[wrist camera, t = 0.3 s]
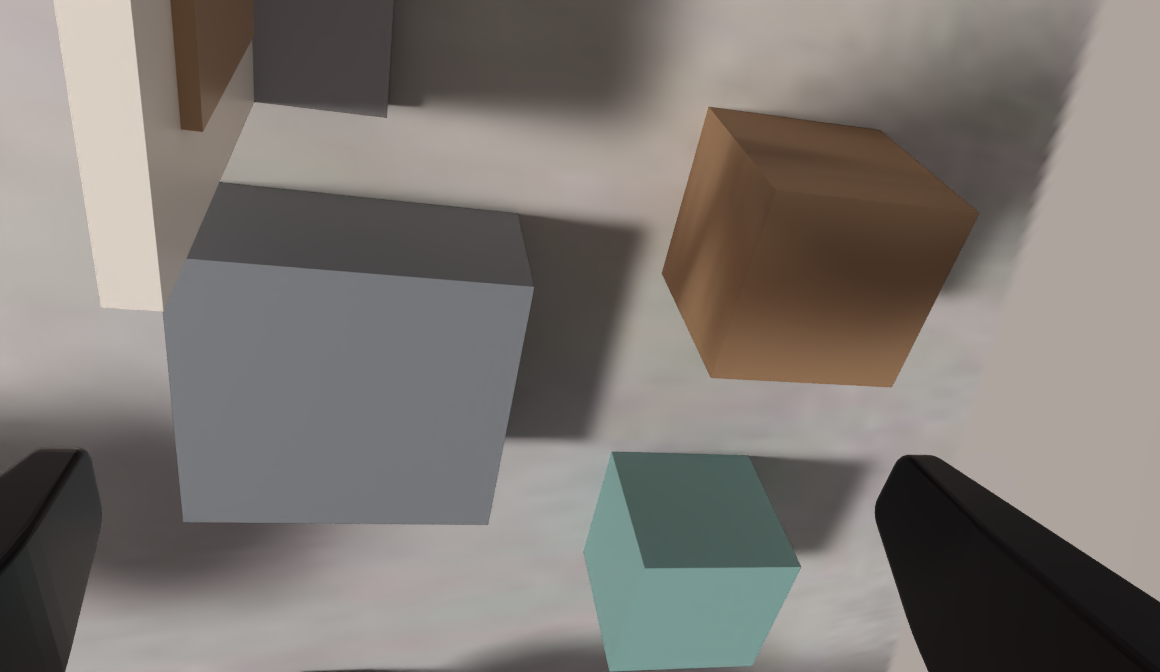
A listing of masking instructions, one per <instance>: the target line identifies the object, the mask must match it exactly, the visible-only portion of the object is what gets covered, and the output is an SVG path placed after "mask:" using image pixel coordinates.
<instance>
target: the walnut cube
mask: <svg viewBox="0 0 1160 672" xmlns="http://www.w3.org/2000/svg"><path fill="white" fill-rule="evenodd" d="M978 215H979V212H978V211H976V210H975V209H974V208H973V207H972V206H970V205H969V204H968V203H967V202H966V201H964V200H963V199H962V198H961V197H960V196H958V195H957V194H956V193H955V192H954V191H952V190H951V189H950V188H949V187H948V186H946V185H945V184H944V183H943V182H942V181H940V180H939V179H938V178H937V177H936V176H934V175H933V174H932V173H931V172H930V171H928V170H927V169H926V168H925V167H924V166H922V165H921V164H920V163H919V162H918V161H916V160H915V159H914V158H913V157H912V156H910V155H909V154H908V153H907V152H906V151H904V150H903V149H902V148H901V147H900V146H898V145H897V144H896V143H895V142H894V141H892V140H891V139H890V138H889V137H888V136H886V135H885V134H884V133H883V132H882V131H880V130H874V129H867V128H860V127H852V126H845V125H838V124H830V123H823V122H816V121H808V120H801V119H794V118H786V117H779V116H772V115H764V114H757V113H750V112H742V111H735V110H728V109H720V108H713V107H709V108H708V111H707V115H706V118H705V122H704V125H703V129H702V132H701V136H700V140H699V143H698V147H697V150H696V154H695V157H694V161H693V164H692V168H691V172H690V175H689V179H688V182H687V186H686V189H685V193H684V196H683V200H682V204H681V207H680V211H679V214H678V218H677V221H676V225H675V228H674V232H673V236H672V239H671V243H670V246H669V250H668V253H667V257H666V260H665V264H664V267H663V271H662V275H663V277H664V279H665V281H666V283H667V286H668V288H669V290H670V292H671V294H672V296H673V298H674V300H675V303H676V305H677V307H678V309H679V311H680V313H681V315H682V317H683V320H684V322H685V324H686V326H687V328H688V330H689V332H690V335H691V337H692V339H693V341H694V343H695V345H696V347H697V349H698V352H699V354H700V356H701V358H702V360H703V362H704V364H705V366H706V369H707V371H708V373H709V375H710V377H711V378H723V379H742V380H761V381H780V382H800V383H819V384H838V385H857V386H876V387H892V386H893V384H894V382H895V380H896V378H897V376H898V374H899V372H900V370H901V368H902V366H903V364H904V362H905V360H906V358H907V356H908V354H909V352H910V350H911V348H912V346H913V344H914V342H915V340H916V338H917V336H918V334H919V332H920V330H921V328H922V326H923V324H924V322H925V320H926V318H927V316H928V314H929V312H930V310H931V308H932V306H933V304H934V302H935V300H936V298H937V296H938V294H939V292H940V290H941V288H942V286H943V284H944V282H945V280H946V279H947V277H948V275H949V273H950V271H951V269H952V267H953V265H954V263H955V261H956V259H957V257H958V255H959V253H960V251H961V249H962V247H963V245H964V243H965V241H966V239H967V237H968V235H969V233H970V231H971V229H972V227H973V225H974V223H975V221H976V219H977V217H978Z"/></svg>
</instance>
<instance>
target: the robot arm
mask: <svg viewBox="0 0 1160 672" xmlns="http://www.w3.org/2000/svg"><path fill="white" fill-rule="evenodd" d="M101 519H102V510H101V503H100V498H99V494H98V489H97V484H96V480H95V475H94V470H93V466H92V461H91V458H90V456H89V454H88V452H87V451H86V450H84V449H82V448H78V447H44V448H39V449H37V450H35V451H33V452H31V453H30V454H29V455H27V456H26V457H25V458H23V459H22V460H20V461H19V462H18V463H16V464H15V465H14V466H12V467H11V468H10V469H8V470H7V471H6V472H4V473H3V474H1V475H0V672H65V670H66V667H67V663H68V659H69V655H70V652H71V648H72V644H73V640H74V636H75V631H76V627H77V623H78V619H79V615H80V611H81V607H82V603H83V599H84V594H85V590H86V586H87V582H88V578H89V574H90V570H91V566H92V562H93V557H94V553H95V549H96V545H97V541H98V537H99V533H100V528H101ZM875 520H876V524H877V527H878V530H879V533H880V536H881V539H882V542H883V546H884V549H885V552H886V555H887V558H888V561H889V564H890V567H891V570H892V574H893V577H894V580H895V583H896V586H897V589H898V592H899V595H900V598H901V602H902V605H903V608H904V611H905V614H906V617H907V620H908V623H909V625H910V628H911V631H912V634H913V636H914V639H915V641H916V644H917V646H918V649H919V651H920V654H921V655H922V658H923V660H924V663H925V665H926V667H927V670H928V672H1160V602H1159V601H1157V600H1156V599H1154V598H1153V597H1151V596H1150V595H1148V594H1147V593H1145V592H1143V591H1142V590H1141V589H1139V588H1138V587H1136V586H1134V585H1133V584H1131V583H1130V582H1128V581H1127V580H1125V579H1124V578H1122V577H1121V576H1119V575H1118V574H1116V573H1114V572H1113V571H1111V570H1110V569H1108V568H1107V567H1105V566H1104V565H1102V564H1101V563H1099V562H1098V561H1096V560H1095V559H1093V558H1091V557H1090V556H1088V555H1087V554H1085V553H1084V552H1082V551H1081V550H1079V549H1078V548H1076V547H1075V546H1073V545H1072V544H1070V543H1069V542H1067V541H1065V540H1064V539H1062V538H1061V537H1059V536H1058V535H1056V534H1055V533H1053V532H1052V531H1050V530H1049V529H1047V528H1046V527H1044V526H1043V525H1041V524H1039V523H1038V522H1036V521H1035V520H1033V519H1032V518H1030V517H1029V516H1027V515H1026V514H1024V513H1022V512H1021V511H1019V510H1018V509H1016V508H1015V507H1013V506H1012V505H1010V504H1009V503H1007V502H1006V501H1004V500H1003V499H1001V498H1000V497H998V496H997V495H995V494H993V493H992V492H990V491H989V490H987V489H986V488H984V487H983V486H981V485H980V484H978V483H977V482H975V481H973V480H972V479H970V478H969V477H967V476H966V475H964V474H963V473H961V472H960V471H958V470H957V469H955V468H954V467H952V466H951V465H949V464H948V463H946V462H944V461H943V460H941V459H940V458H938V457H936V456H932V455H905V456H902V457H901V458H900V459H898V460H897V462H896V463H895V465H894V467H893V469H892V471H891V473H890V475H889V477H888V479H887V481H886V483H885V485H884V487H883V489H882V491H881V493H880V495H879V497H878V499H877V501H876V505H875Z"/></svg>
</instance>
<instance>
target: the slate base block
mask: <svg viewBox="0 0 1160 672" xmlns="http://www.w3.org/2000/svg"><path fill="white" fill-rule="evenodd" d="M533 291H534V283H533V279H532V275H531V270H530V266H529V261H528V257H527V253H526V248H525V244H524V239H523V235H522V231H521V226H520V222H519V218H518V213H509V212H499V211H490V210H480V209H470V208H461V207H451V206H442V205H432V204H422V203H413V202H403V201H394V200H384V199H375V198H365V197H355V196H346V195H336V194H327V193H317V192H307V191H298V190H288V189H279V188H269V187H259V186H250V185H240V184H231V183H221V182H219V184H218V186H217V189H216V191H215V193H214V196H213V198H212V200H211V203H210V205H209V207H208V210H207V212H206V214H205V216H204V219H203V221H202V223H201V226H200V228H199V230H198V233H197V235H196V237H195V240H194V242H193V244H192V246H191V249H190V251H189V253H188V256H187V258H186V260H185V263H184V265H183V267H182V270H181V272H180V274H179V276H178V279H177V281H176V283H175V286H174V288H173V290H172V293H171V295H170V297H169V300H168V302H167V304H166V307H165V309H164V311H163V320H164V330H165V341H166V351H167V361H168V372H169V382H170V392H171V402H172V413H173V423H174V433H175V444H176V454H177V464H178V474H179V485H180V495H181V505H182V515H183V522H228V523H335V524H442V525H488V523H489V518H490V513H491V508H492V502H493V497H494V492H495V487H496V482H497V477H498V471H499V466H500V461H501V456H502V451H503V446H504V441H505V435H506V430H507V425H508V420H509V415H510V410H511V405H512V399H513V394H514V389H515V384H516V379H517V374H518V368H519V363H520V358H521V353H522V348H523V343H524V338H525V332H526V327H527V322H528V317H529V312H530V307H531V302H532V296H533Z"/></svg>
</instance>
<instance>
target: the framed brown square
mask: <svg viewBox="0 0 1160 672" xmlns="http://www.w3.org/2000/svg"><path fill="white" fill-rule="evenodd" d="M53 1H54V8H55V14H56V21H57V27H58V33H59V40H60V46H61V53H62V59H63V66H64V72H65V79H66V85H67V91H68V98H69V104H70V111H71V117H72V124H73V130H74V137H75V143H76V150H77V156H78V162H79V169H80V175H81V182H82V188H83V195H84V201H85V208H86V214H87V220H88V227H89V233H90V240H91V246H92V253H93V259H94V266H95V272H96V279H97V285H98V291H99V298H100V304H101V308H117V309H133V310H149V311H164V309H165V307H166V304H167V302H168V300H169V297H170V295H171V293H172V290H173V288H174V286H175V283H176V281H177V279H178V276H179V274H180V272H181V270H182V267H183V265H184V263H185V260H186V258H187V256H188V253H189V251H190V249H191V246H192V244H193V242H194V240H195V237H196V235H197V233H198V230H199V228H200V226H201V223H202V221H203V219H204V216H205V214H206V212H207V210H208V207H209V205H210V203H211V200H212V198H213V196H214V193H215V191H216V189H217V186H218V184H219V182H220V180H221V177H222V175H223V173H224V170H225V168H226V166H227V163H228V161H229V159H230V156H231V154H232V152H233V149H234V147H235V145H236V143H237V140H238V138H239V136H240V133H241V131H242V129H243V126H244V124H245V122H246V119H247V117H248V115H249V113H250V110H251V108H252V106H253V103H254V102H260V103H268V104H276V105H285V106H293V107H301V108H309V109H318V110H326V111H334V112H343V113H351V114H359V115H367V116H376V117H384V118H387V107H388V91H389V75H390V59H391V43H392V27H393V10H394V0H53Z"/></svg>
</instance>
